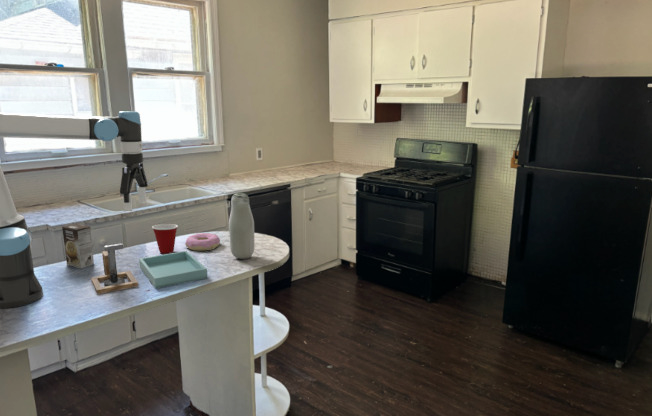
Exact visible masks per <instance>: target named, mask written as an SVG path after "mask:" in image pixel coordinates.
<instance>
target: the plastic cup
mask: <svg viewBox="0 0 652 416" xmlns="http://www.w3.org/2000/svg"><path fill="white" fill-rule="evenodd" d="M151 228H152V230H153V234H154V235H155V239H156V240H155V241H156V244H157V246H158V251H159V253H160V255H164V254H170V253H174V251H175V245H176V244H175V242H176V237H177V230H178V228H179V225H178V224H175V223H174V224H172V223H168V224H167V223H165V224H155V225H152V226H151Z"/></svg>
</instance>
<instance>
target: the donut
mask: <svg viewBox="0 0 652 416" xmlns="http://www.w3.org/2000/svg"><path fill="white" fill-rule="evenodd" d="M220 242H221V239H220V237H219V236H218V235H217V234H216V233H215V234H213V233H209V232H208V233H201V232H200V233H196V234H192V235H189V236H188V237H187V238H186V241H185V246H186V247H187V248H188V249H190V251H191V250H192V251H199V252H200V251H201V252H205V251H210V250H213V249H216V248H217V247H218V246H219V245H220Z"/></svg>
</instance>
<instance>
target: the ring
mask: <svg viewBox="0 0 652 416" xmlns="http://www.w3.org/2000/svg"><path fill="white" fill-rule="evenodd" d="M101 254H102V265H103V273H104V275H98V276H93V277H91V278H90V279H91V284H92V286H93V288H94V291H95V293H96V295H100V294H106V293H110V292H115V291H120V290H126V289H130V288H136V287H139V282H138V280H137V279H136V277H135V275H134V274H133V273H132V271H131V270H126V271H121V272H117V277H118V278H123V279H124V278H126V279H127V280H128V281H129V282H125V283H122V284H117V285H111V286H106V287H105V286H102V285H101V283H102V282H104V281H106V280H108V279H110V270H109V260H108V251H105V250H104V251H102V252H101ZM100 282H101V283H100Z"/></svg>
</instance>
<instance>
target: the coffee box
mask: <svg viewBox="0 0 652 416" xmlns="http://www.w3.org/2000/svg"><path fill="white" fill-rule="evenodd" d="M61 228H62V236H63V244H64V245H63V246H64V253H65V261H66V265H67V266H71V267H73V268H77V267H78V269H84V268H86V267H90V266H92V265H94V264H95V260H94V251H93V243H92V242H93V241H92V240H93V239H92V231H91V229H92V228H91V226H90V225H85V224H79V223H73V224H68V225H67V224H66V225H64V226H62V227H61Z"/></svg>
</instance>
